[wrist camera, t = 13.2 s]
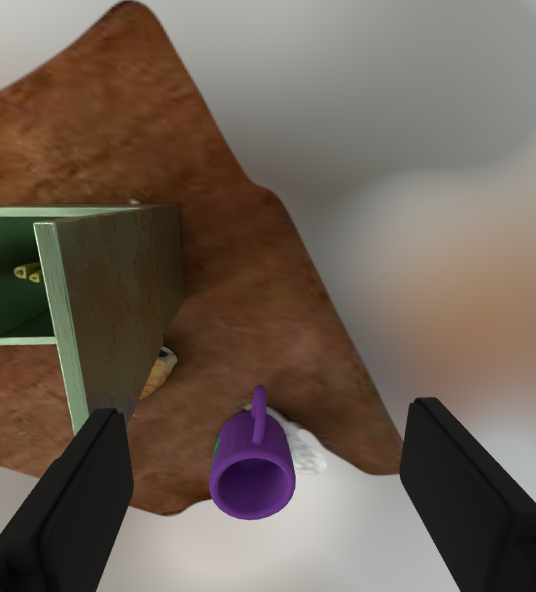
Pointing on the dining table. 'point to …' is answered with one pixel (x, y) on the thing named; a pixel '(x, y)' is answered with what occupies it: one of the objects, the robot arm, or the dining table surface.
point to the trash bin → (32, 296)
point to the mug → (252, 464)
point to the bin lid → (102, 307)
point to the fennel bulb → (30, 272)
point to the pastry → (159, 371)
